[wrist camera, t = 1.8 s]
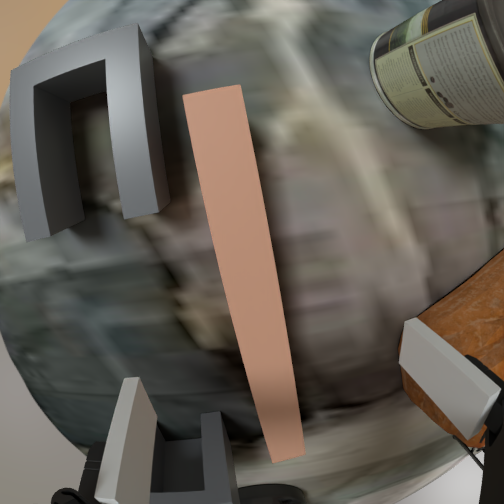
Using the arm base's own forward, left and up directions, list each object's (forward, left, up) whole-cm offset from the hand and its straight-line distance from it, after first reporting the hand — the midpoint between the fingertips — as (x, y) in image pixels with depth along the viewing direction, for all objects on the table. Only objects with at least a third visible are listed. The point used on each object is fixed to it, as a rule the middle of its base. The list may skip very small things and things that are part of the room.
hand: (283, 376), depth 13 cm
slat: (0, 0, -12) cm, 12 cm away
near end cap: (+13, +9, -11) cm, 20 cm away
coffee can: (+17, -18, -12) cm, 27 cm away
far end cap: (-16, +9, -11) cm, 22 cm away
